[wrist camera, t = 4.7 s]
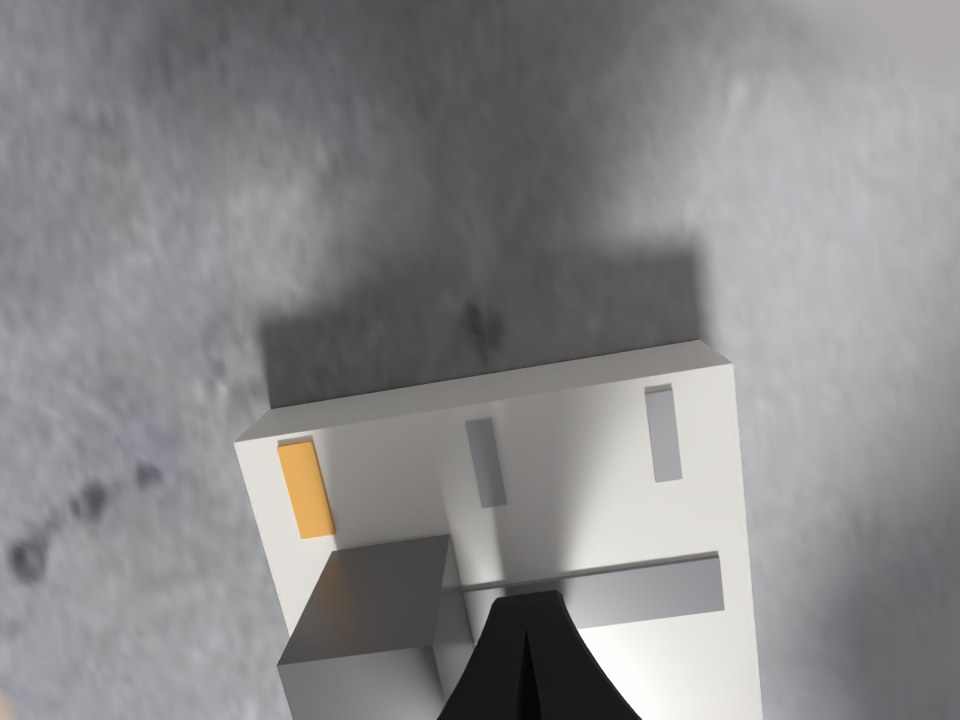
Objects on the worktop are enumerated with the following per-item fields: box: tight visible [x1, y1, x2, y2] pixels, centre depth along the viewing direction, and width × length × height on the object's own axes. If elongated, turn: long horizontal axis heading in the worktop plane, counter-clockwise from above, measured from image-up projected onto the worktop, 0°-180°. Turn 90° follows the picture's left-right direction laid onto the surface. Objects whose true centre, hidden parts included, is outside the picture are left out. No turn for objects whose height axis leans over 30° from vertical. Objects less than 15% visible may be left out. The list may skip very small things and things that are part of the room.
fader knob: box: [277, 534, 474, 720], centre depth 12 cm, size 4×2×3 cm, turn 10°
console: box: [234, 340, 763, 720], centre depth 14 cm, size 9×10×2 cm
